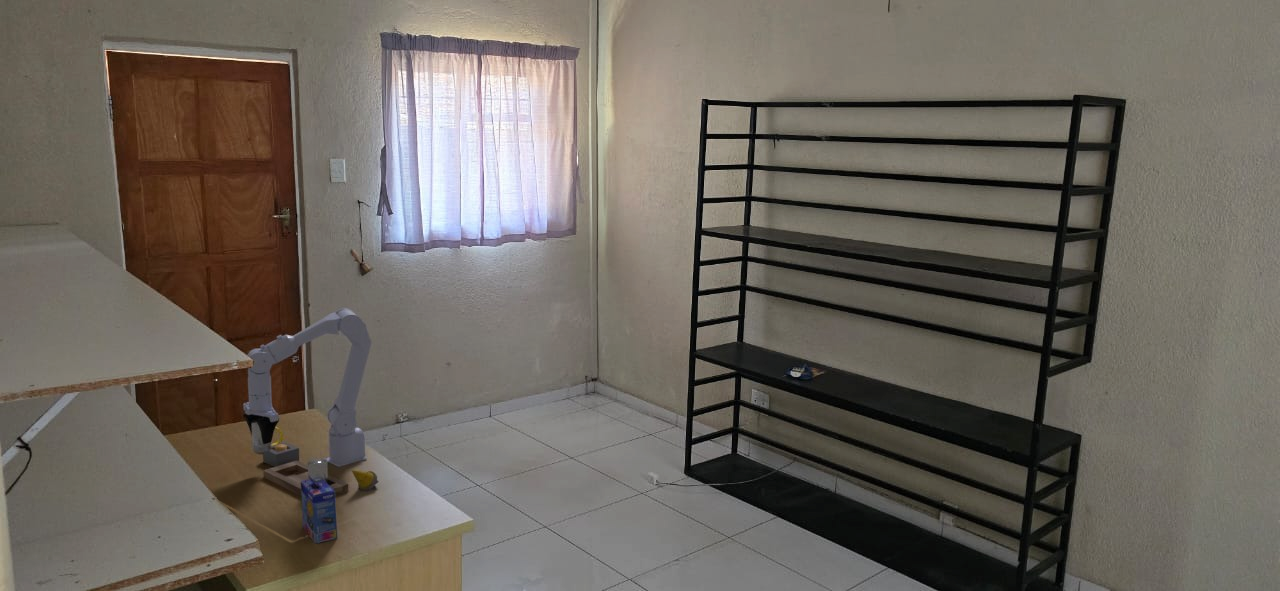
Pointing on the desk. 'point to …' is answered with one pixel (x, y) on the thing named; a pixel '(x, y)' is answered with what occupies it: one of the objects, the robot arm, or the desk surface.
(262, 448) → the steel billet
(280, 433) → the watch
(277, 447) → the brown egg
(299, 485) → the frame
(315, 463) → the cylinder
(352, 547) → the desk surface
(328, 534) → the ink cartridge box
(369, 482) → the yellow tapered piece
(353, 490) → the desk surface
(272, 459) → the button housing
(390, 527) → the desk surface
